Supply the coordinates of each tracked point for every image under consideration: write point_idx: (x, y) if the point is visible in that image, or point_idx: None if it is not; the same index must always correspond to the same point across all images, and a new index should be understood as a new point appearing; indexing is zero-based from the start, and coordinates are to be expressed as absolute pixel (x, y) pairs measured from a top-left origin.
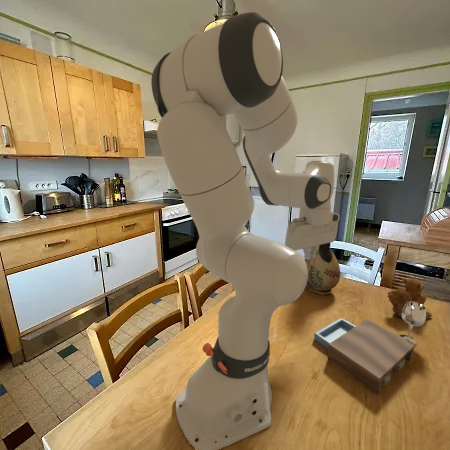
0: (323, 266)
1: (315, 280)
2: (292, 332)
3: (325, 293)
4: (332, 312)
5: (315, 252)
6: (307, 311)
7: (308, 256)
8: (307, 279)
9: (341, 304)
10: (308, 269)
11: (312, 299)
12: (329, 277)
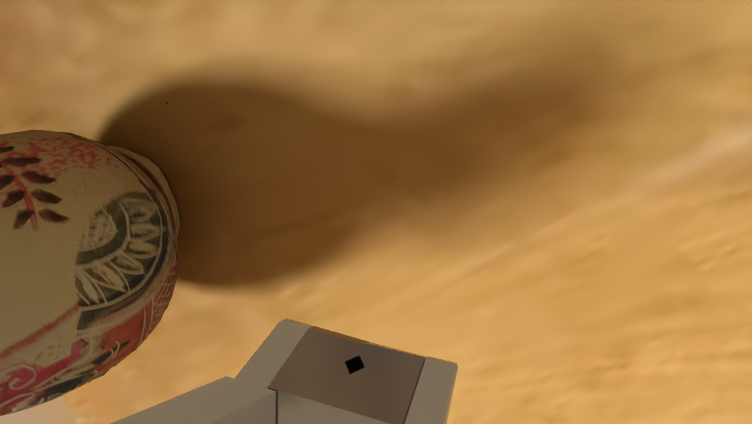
0: (19, 255)
1: (147, 234)
2: (621, 86)
3: (139, 158)
4: (255, 35)
5: (220, 391)
6: (365, 139)
7: (446, 418)
8: (169, 280)
9: (145, 42)
10: (117, 322)
11: (242, 181)
12: (58, 175)
